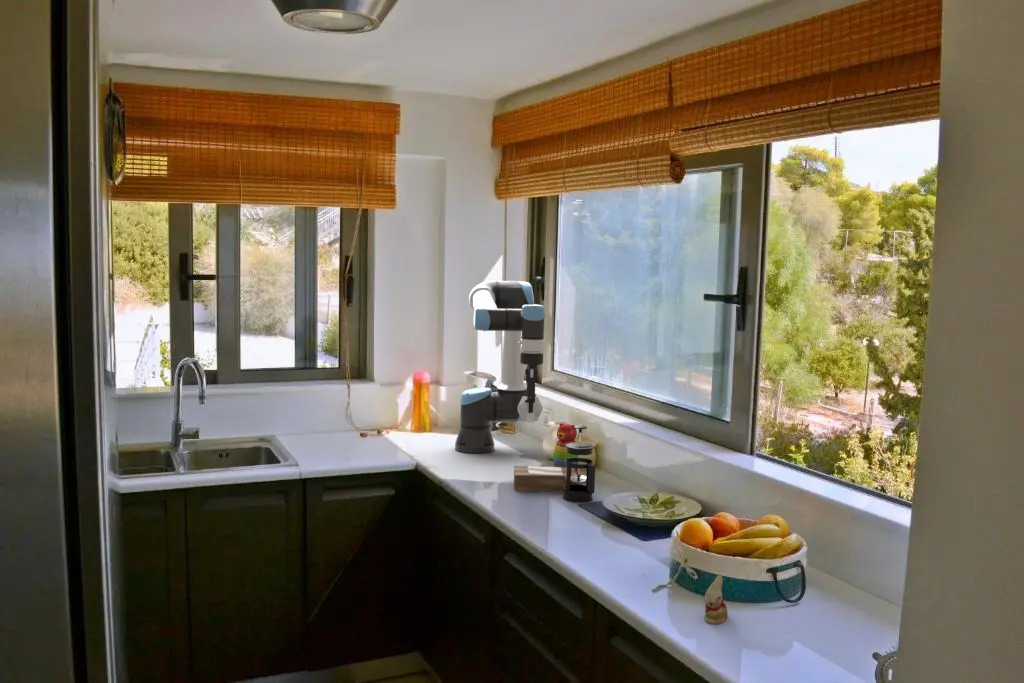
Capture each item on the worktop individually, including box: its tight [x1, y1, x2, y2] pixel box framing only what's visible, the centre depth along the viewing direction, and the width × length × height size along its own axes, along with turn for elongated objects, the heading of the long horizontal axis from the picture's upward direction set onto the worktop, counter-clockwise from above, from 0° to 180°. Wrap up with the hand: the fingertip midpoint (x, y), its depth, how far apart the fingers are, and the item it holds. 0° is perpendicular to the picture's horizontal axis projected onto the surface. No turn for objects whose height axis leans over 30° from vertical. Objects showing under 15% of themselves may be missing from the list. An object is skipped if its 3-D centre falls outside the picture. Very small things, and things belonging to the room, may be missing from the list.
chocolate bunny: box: [703, 574, 728, 626], centre depth 194 cm, size 6×8×10 cm
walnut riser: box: [513, 465, 578, 492], centre depth 297 cm, size 12×20×5 cm, turn 91°
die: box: [517, 396, 543, 422], centre depth 298 cm, size 8×9×10 cm
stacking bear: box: [552, 423, 579, 475], centre depth 311 cm, size 11×10×18 cm
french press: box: [562, 425, 596, 503], centre depth 282 cm, size 12×9×23 cm
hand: (529, 419), depth 298 cm, fingers closed on die, 9 cm apart
